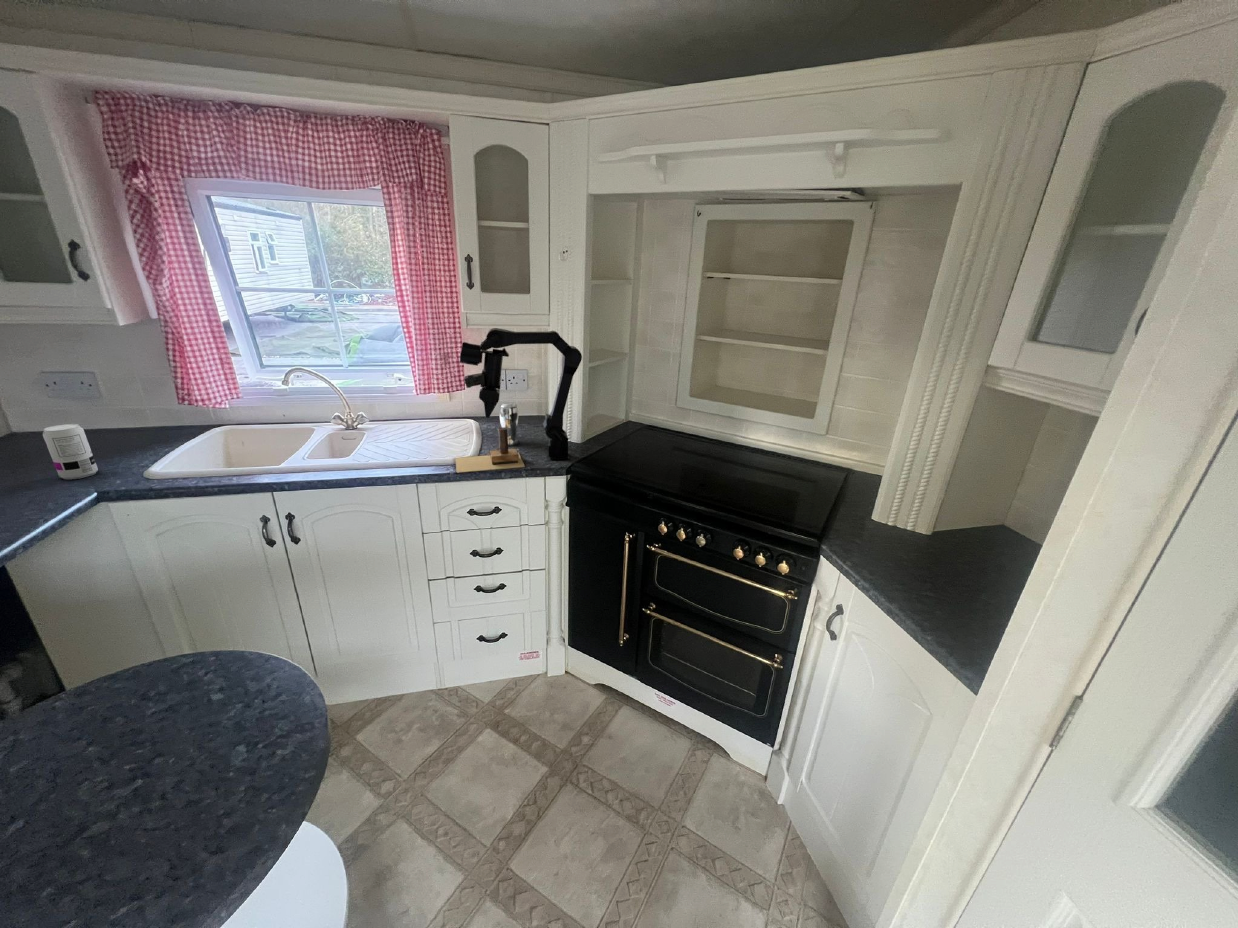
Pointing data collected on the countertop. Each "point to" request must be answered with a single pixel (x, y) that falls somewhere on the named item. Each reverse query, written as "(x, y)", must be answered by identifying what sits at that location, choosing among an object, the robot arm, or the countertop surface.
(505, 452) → the wooden rubber stamp
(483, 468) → the cork mat
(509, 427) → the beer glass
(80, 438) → the supplement can
